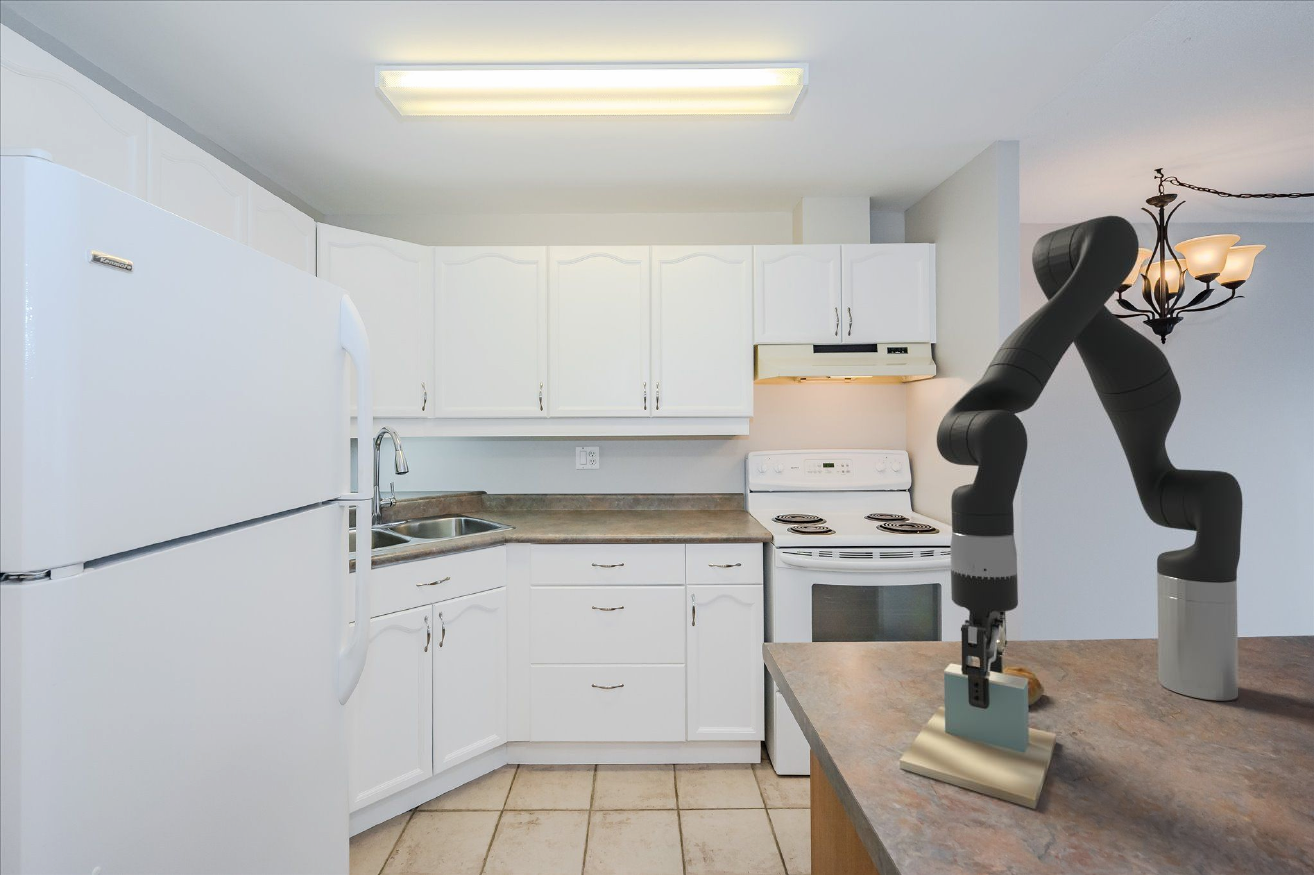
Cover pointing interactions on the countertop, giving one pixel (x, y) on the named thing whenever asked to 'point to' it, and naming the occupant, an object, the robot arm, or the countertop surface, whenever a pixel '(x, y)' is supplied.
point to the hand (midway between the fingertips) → (986, 694)
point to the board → (981, 762)
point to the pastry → (1033, 683)
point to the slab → (988, 710)
